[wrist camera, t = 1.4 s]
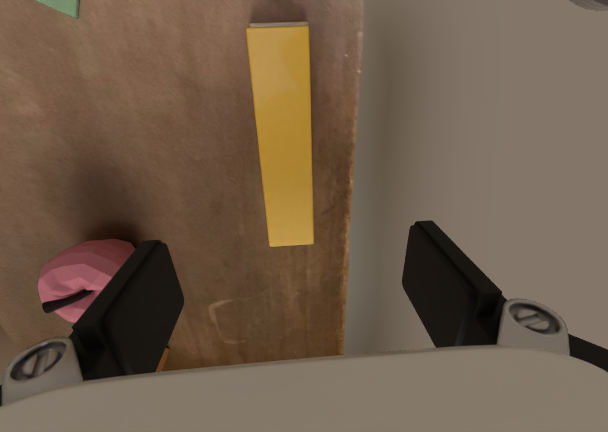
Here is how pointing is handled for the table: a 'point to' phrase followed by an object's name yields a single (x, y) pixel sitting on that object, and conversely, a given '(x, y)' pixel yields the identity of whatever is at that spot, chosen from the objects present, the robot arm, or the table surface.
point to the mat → (64, 6)
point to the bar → (284, 129)
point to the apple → (80, 275)
